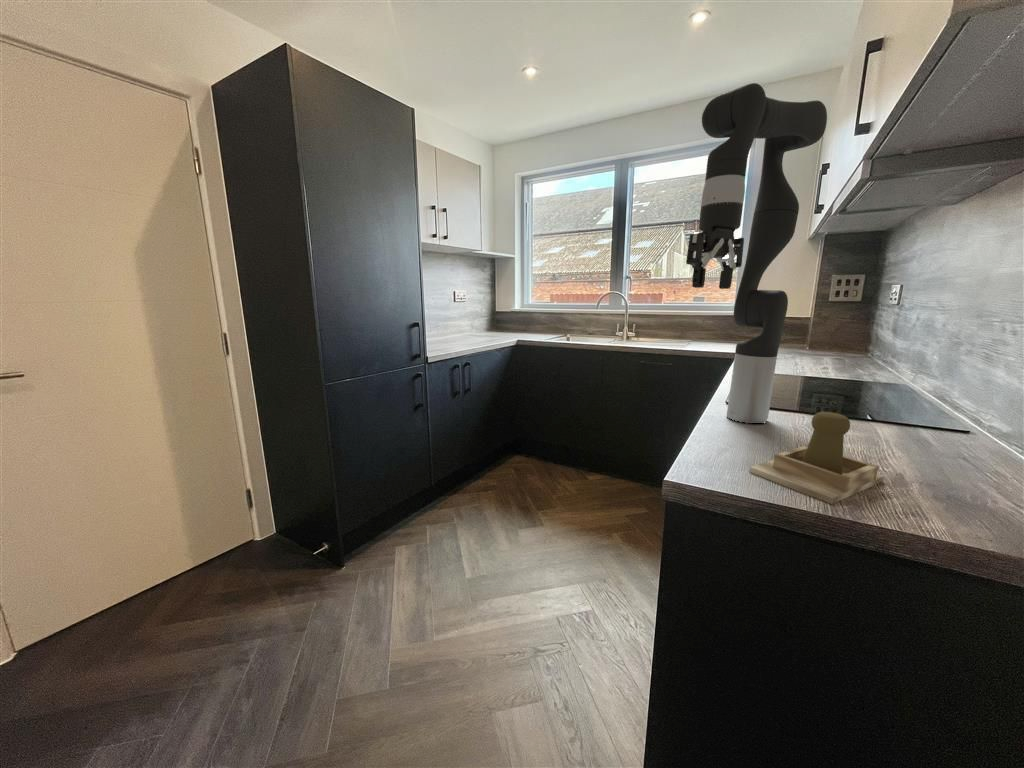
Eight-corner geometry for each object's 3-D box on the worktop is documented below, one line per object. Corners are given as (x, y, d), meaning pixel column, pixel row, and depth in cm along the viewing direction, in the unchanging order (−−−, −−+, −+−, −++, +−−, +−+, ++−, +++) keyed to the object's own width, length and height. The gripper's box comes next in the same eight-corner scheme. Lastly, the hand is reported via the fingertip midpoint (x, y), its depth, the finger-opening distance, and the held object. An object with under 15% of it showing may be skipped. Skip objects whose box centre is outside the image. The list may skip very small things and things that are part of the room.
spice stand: (802, 455, 82) (805, 439, 81) (883, 481, 71) (887, 462, 70) (749, 471, 73) (752, 453, 73) (831, 504, 62) (836, 483, 61)
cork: (802, 475, 70) (814, 415, 67) (797, 463, 75) (807, 406, 73) (846, 483, 67) (860, 420, 65) (837, 470, 72) (850, 412, 70)
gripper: (715, 195, 73) (705, 287, 77) (761, 205, 80) (750, 288, 83) (681, 203, 80) (673, 287, 83) (726, 211, 86) (717, 289, 90)
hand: (711, 288), depth 83 cm, fingers open, 8 cm apart
